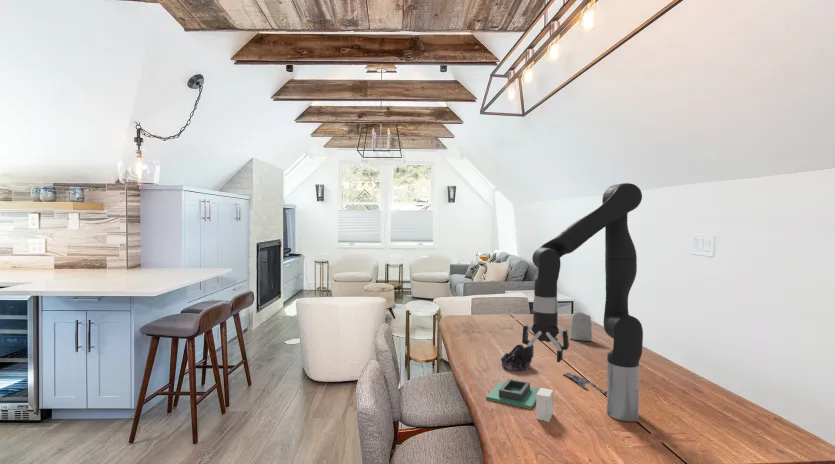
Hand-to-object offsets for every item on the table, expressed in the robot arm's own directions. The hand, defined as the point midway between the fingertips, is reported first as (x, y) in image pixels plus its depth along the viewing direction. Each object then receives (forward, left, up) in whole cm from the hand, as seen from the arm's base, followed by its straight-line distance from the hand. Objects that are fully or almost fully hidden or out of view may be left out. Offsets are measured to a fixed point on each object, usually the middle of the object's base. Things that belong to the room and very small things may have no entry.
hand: (544, 359), depth 133 cm
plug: (0, 0, -19) cm, 19 cm away
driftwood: (-7, -35, -20) cm, 41 cm away
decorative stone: (+2, -98, -19) cm, 100 cm away
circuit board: (+13, -11, -19) cm, 25 cm away
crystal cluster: (+21, -42, -19) cm, 51 cm away
